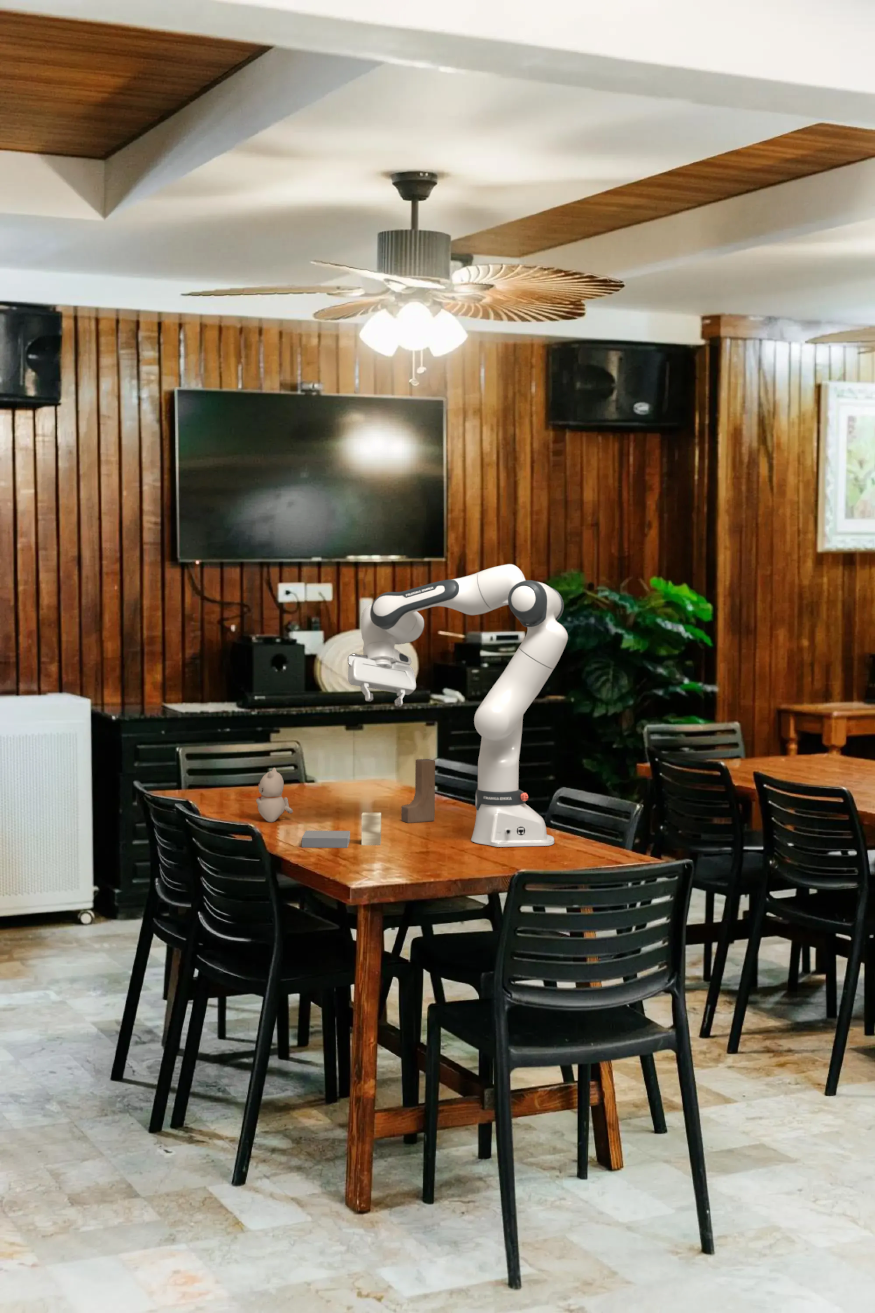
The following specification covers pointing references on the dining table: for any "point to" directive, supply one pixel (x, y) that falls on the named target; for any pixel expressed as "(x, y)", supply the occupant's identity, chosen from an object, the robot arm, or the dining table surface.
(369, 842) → the maple post
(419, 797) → the wooden block
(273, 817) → the toy
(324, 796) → the dining table surface
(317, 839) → the base slab
